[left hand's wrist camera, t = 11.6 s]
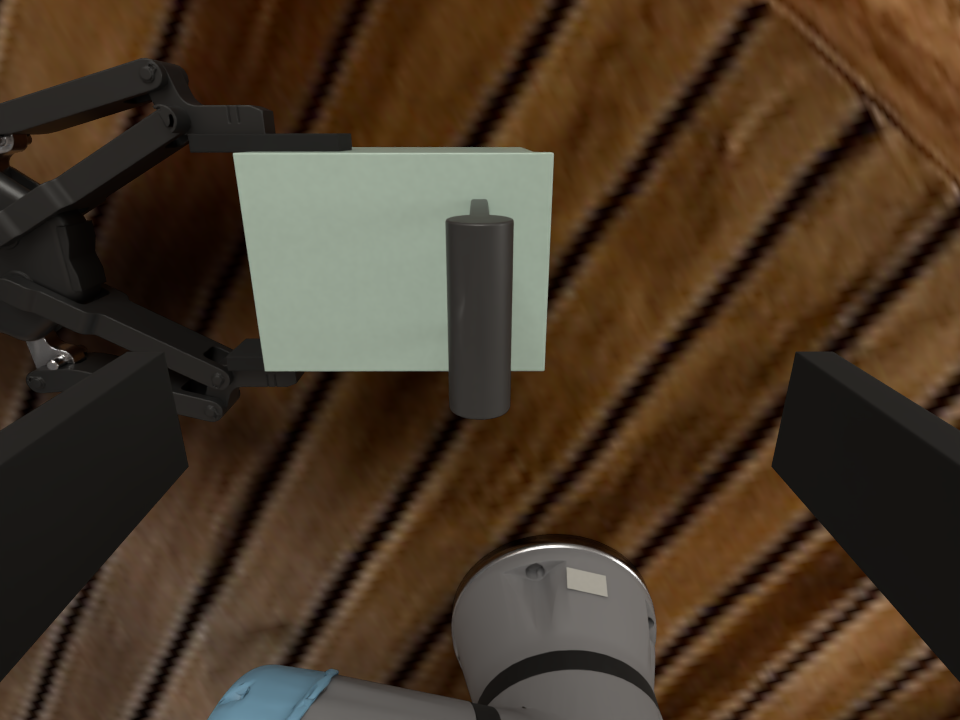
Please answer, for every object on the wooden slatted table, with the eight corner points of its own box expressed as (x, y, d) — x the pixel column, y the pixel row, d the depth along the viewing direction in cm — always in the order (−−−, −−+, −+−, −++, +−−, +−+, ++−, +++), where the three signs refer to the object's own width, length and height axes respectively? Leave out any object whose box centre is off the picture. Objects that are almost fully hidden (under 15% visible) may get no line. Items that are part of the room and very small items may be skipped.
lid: (551, 152, 24) (589, 162, 16) (542, 363, 28) (570, 464, 19) (241, 152, 24) (115, 162, 16) (271, 363, 28) (181, 465, 19)
